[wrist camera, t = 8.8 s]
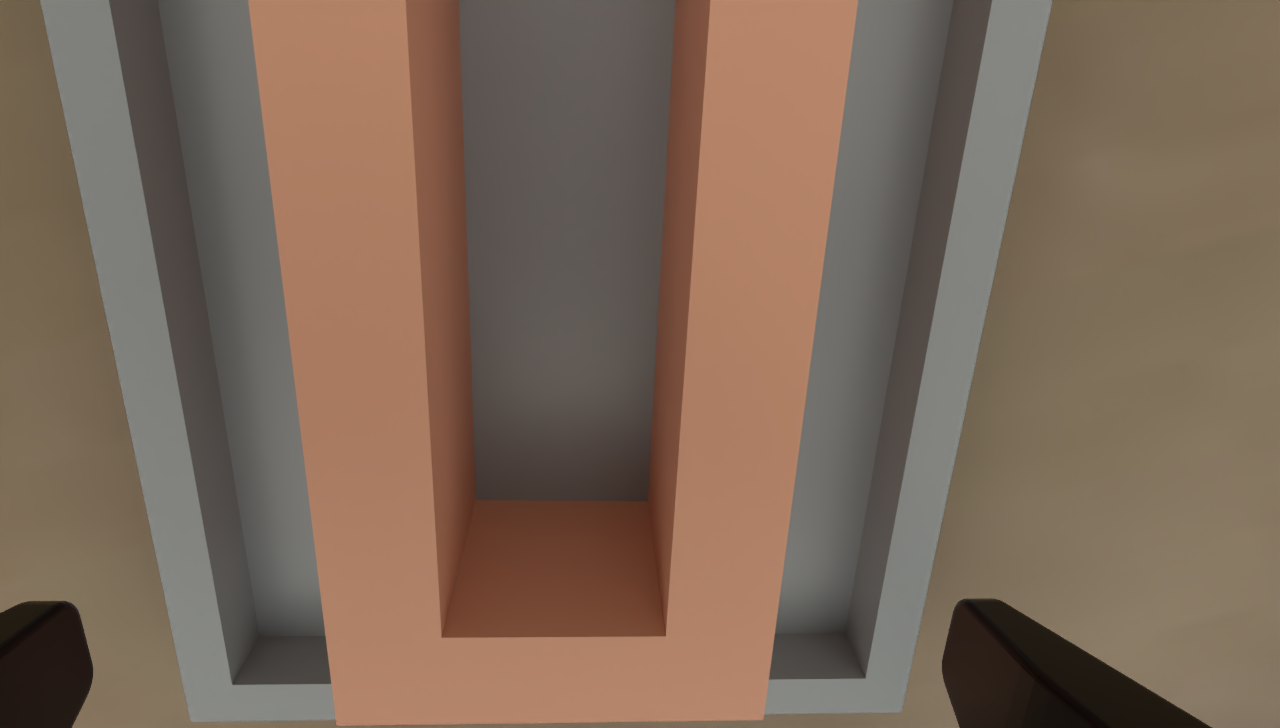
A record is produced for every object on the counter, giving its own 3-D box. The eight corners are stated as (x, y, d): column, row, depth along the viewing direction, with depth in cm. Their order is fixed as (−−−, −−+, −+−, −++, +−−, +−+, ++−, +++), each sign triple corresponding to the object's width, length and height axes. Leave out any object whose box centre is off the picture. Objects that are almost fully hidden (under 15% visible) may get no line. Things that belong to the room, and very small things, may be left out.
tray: (865, 637, 16) (901, 712, 15) (238, 641, 16) (191, 721, 14) (1133, -825, 9) (1274, -1050, 7) (-42, -983, 8) (-228, -1292, 6)
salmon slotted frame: (856, -750, 9) (1021, -1247, 5) (719, 616, 15) (756, 772, 12) (282, -821, 8) (76, -1408, 5) (397, 617, 15) (343, 779, 11)
